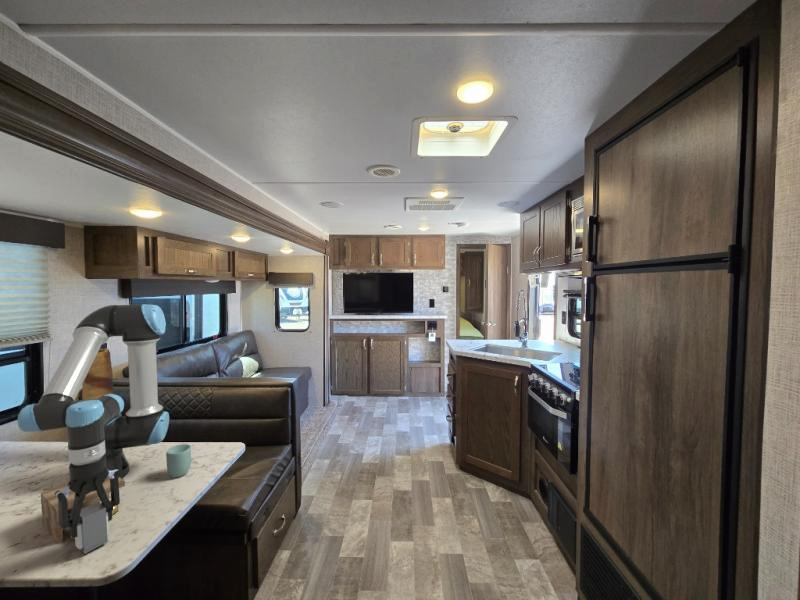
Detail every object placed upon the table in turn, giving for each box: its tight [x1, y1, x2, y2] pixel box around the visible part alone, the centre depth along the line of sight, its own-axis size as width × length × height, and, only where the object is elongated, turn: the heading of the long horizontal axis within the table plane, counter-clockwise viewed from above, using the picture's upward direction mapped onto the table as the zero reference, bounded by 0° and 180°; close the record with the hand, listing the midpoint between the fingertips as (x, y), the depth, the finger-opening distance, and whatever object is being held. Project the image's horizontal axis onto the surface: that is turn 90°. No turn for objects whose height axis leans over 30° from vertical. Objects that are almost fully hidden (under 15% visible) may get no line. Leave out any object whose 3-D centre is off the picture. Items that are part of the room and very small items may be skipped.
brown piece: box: [40, 469, 126, 544], centre depth 108 cm, size 14×16×10 cm
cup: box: [165, 443, 192, 478], centre depth 132 cm, size 8×8×10 cm
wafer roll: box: [81, 347, 114, 400], centre depth 146 cm, size 10×11×45 cm
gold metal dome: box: [100, 499, 119, 517], centre depth 110 cm, size 6×6×3 cm
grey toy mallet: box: [78, 502, 109, 555], centre depth 99 cm, size 15×5×10 cm, turn 59°
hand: (92, 539), depth 96 cm, fingers closed on grey toy mallet, 5 cm apart
